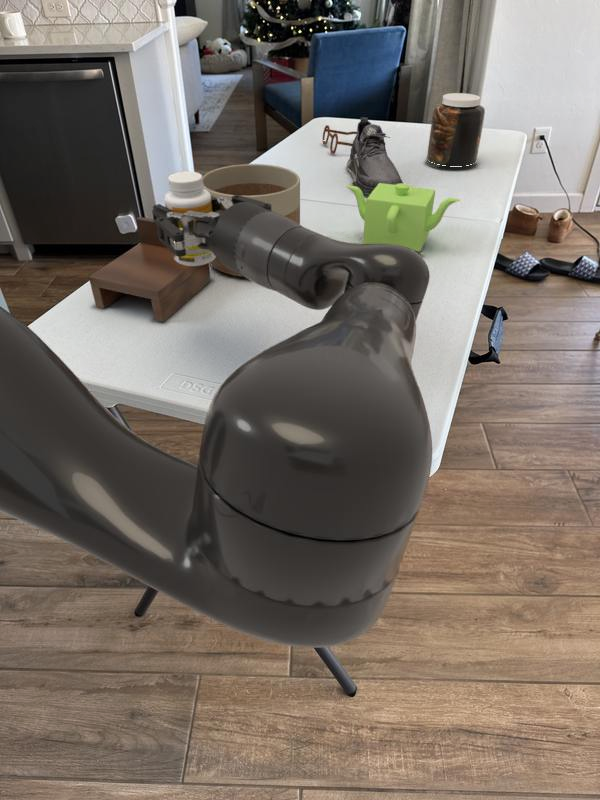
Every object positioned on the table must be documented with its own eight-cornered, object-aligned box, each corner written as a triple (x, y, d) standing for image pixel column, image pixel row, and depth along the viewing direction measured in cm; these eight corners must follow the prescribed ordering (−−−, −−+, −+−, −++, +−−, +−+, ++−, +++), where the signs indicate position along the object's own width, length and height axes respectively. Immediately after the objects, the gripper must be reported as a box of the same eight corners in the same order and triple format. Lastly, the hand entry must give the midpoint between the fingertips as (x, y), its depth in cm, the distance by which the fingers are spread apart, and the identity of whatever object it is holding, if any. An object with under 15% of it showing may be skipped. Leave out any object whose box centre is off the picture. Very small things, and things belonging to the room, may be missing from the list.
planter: (258, 233, 109) (255, 157, 100) (318, 260, 100) (320, 179, 91) (190, 259, 100) (179, 178, 92) (249, 290, 91) (244, 204, 83)
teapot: (451, 251, 103) (462, 192, 96) (390, 268, 98) (397, 206, 91) (400, 222, 113) (406, 166, 107) (342, 236, 108) (345, 178, 102)
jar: (455, 174, 137) (467, 104, 127) (417, 163, 143) (425, 96, 134) (484, 164, 143) (497, 97, 133) (446, 153, 149) (456, 89, 140)
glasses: (321, 143, 157) (321, 123, 154) (367, 140, 159) (368, 120, 156) (333, 157, 147) (334, 136, 144) (382, 154, 149) (384, 133, 146)
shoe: (363, 204, 121) (367, 144, 113) (338, 165, 142) (341, 112, 134) (411, 202, 122) (418, 142, 115) (379, 163, 143) (384, 110, 136)
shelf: (163, 322, 84) (153, 265, 78) (95, 306, 87) (81, 250, 82) (210, 281, 94) (205, 227, 88) (148, 268, 97) (139, 216, 92)
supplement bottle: (226, 259, 73) (218, 177, 67) (188, 272, 71) (176, 187, 64) (202, 245, 77) (193, 166, 70) (165, 257, 74) (152, 175, 68)
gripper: (213, 301, 60) (132, 251, 70) (313, 260, 68) (227, 221, 78) (205, 232, 56) (119, 189, 65) (314, 196, 63) (222, 163, 73)
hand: (178, 206), depth 71 cm, fingers closed on supplement bottle, 5 cm apart
